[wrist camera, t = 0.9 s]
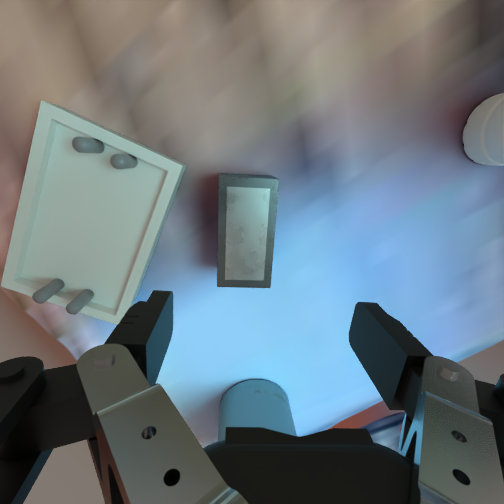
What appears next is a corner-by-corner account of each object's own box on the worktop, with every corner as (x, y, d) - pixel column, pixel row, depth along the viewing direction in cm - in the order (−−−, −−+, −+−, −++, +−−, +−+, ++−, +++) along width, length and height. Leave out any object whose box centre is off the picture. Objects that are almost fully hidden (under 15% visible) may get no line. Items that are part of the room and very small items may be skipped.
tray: (129, 315, 32) (114, 338, 28) (17, 277, 29) (-17, 295, 25) (186, 165, 27) (178, 166, 23) (57, 104, 25) (23, 94, 21)
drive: (264, 268, 31) (270, 288, 26) (219, 267, 31) (217, 287, 26) (271, 175, 28) (279, 179, 23) (221, 173, 27) (218, 176, 23)
